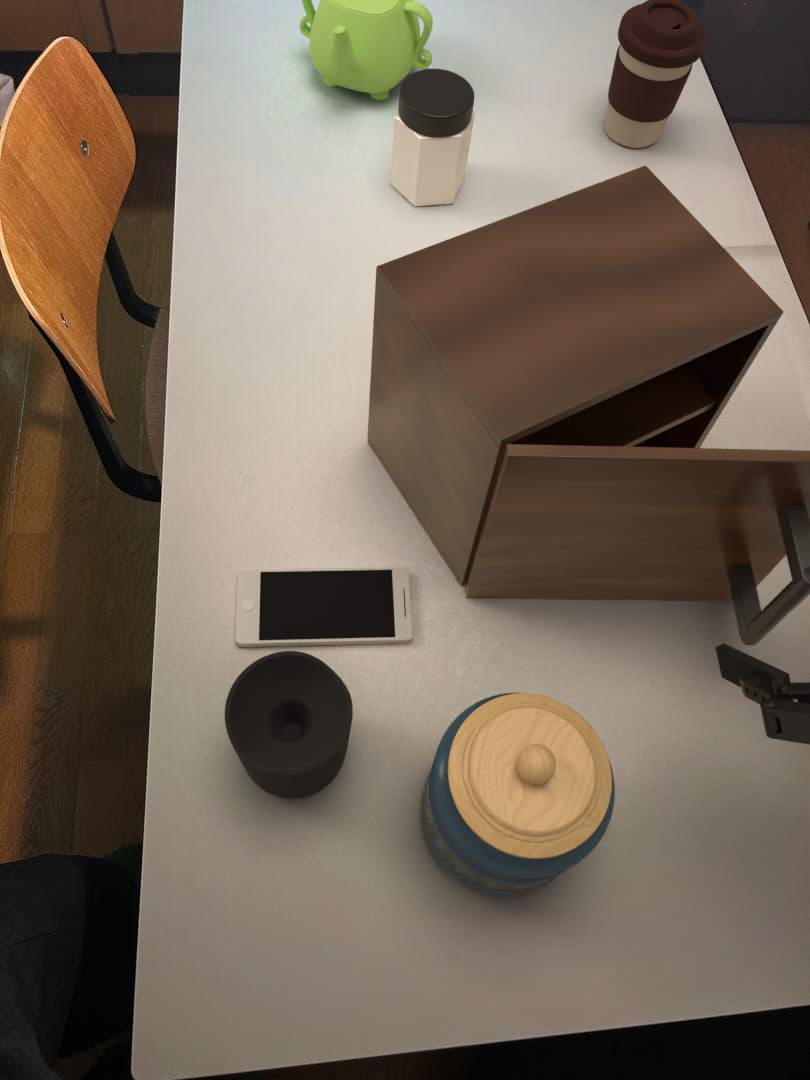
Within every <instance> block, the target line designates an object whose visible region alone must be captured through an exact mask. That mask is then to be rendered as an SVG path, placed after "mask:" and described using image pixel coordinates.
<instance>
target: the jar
mask: <svg viewBox="0 0 810 1080" xmlns="http://www.w3.org/2000/svg"><path fill="white" fill-rule="evenodd" d="M475 97H476V96H475V91H474V88H473V86H472V85H471V83H470V82H469V81H468V80H467V79H466V78H465V77H463V76H462V75H460V74H458V73H456V72H454V71H451V70H448V69H443V68H425V69H419V70H416V71H414V72H412V73H409V75H406V76H405V77H404V78H403V80H402V81H401V84H400V87H399V93H398V105H397V106H398V107H397V111H396V113H395V114H394V118H393V119H394V120H393V135H392V148H391V149H392V151H391V163H390V164H391V167H390V168H391V169H390V181H389V184H390V185H391V186H392V187H393V188H394V190H396V191H397V192H398V193H400V195H402V196H403V198H405V199H406V200H407V201H408V202H409V203H410V204H412V206H414V207H424V206H425V207H426V206H441V205H452V204H453V203H454V201H455V199H456V198H457V196H458V193H459V191H460V189H461V187H462V186H463V184H464V181H465V179H466V173H467V167H468V161H469V155H470V148H471V147H470V146H471V141H472V134H473V126H474V120H475V113H476V112H475V110H474V105H475Z"/></svg>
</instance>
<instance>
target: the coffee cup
mask: <svg viewBox="0 0 810 1080" xmlns="http://www.w3.org/2000/svg"><path fill="white" fill-rule="evenodd" d="M617 39H618V42H619V45H618V47H617V50H616V53H615V59H614V63H613V68H612V72H611V78H610V80H609V81H610V82H609V86H608V91H607V99H608V100H607V105H606V109H605V113H604V119H603V128H604V132H605V134H606V135H607V136H608V137H609V138H610V139H611V140H612V141H613V142H615V143H616V144H618V145H621V146H623V147H627V148H632V149H640V148H641V149H642V148H646V147H649V146H652V145H653V144H655V143H656V142H657V141H658V140H659V138H660V137H661V135H662V132H663V130H664V129H665V126H666V124H667V121H668V119H669V118H670V116H671V114H672V113H673V112H674V110H675V108H676V106H677V103H678V102H679V99H680V97H681V95H682V93H683V90H684V88H685V86H686V83H687V81H688V79H689V76H690V75H691V72H692V69H693V64H695V63H696V62H697V61H698V60H699V59H701V56H702V55H703V53H704V50H705V47H706V44H707V42H708V32H707V29H706V26H705V25H704V23H703V22H702V21H701V19H700V18H699V16H698V14H697V12H696V11H695V10H694V9H693V7H691V6H690V5H688V4H687V3H685V2H683V1H681V0H646V1H644V2H643V3H640V4H636V5H634V6H632V7H630V8H629V9H627V11H625V12H624V14H622V16H621V19H620V22H619V26H618V29H617Z"/></svg>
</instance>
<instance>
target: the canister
mask: <svg viewBox="0 0 810 1080" xmlns="http://www.w3.org/2000/svg"><path fill="white" fill-rule="evenodd" d="M615 786H616V785H615V776H614V771H613V768H612V764H611V761H610V758H609V755H608V753H607V750H606V748H605V746H604V743H603V741H602V740H601V738H600V736H599V735H598V733H597V731H596V730H595V728H593V726H592V725H591V724H590V723H589V722H588V721H587V719H585V718H584V717H583V716H582V715H581V714H580V713H579V712H578V711H576V710H575V709H574V708H573V707H571V706H569V705H568V704H566V703H564V702H562V701H559V700H557V699H555V698H553V697H549V696H547V695H543V694H537V693H529V692H506V693H500V694H499V693H498V694H494V695H492V696H488V697H485V698H483V699H481V700H478V701H476V702H475V703H473V704H471V705H470V706H468V707H467V708H465V709H464V710H463V711H462V712H461V713H459V715H457V717H455V719H454V720H452V722H451V723H450V725H449V726H448V727H447V728H446V730H445V731H444V733H443V735H442V737H441V739H440V741H439V744H438V746H437V747H436V751H435V754H434V758H433V760H432V763H431V767H430V770H429V773H428V774H427V777H426V779H425V782H424V786H423V790H422V793H421V800H420V818H421V825H422V830H423V834H424V837H425V840H426V842H427V845H428V847H429V849H430V851H431V853H432V855H433V857H434V858H435V860H436V861H437V862H438V864H439V865H440V866H441V867H442V869H443V870H444V871H445V872H446V873H447V874H448V875H449V876H451V878H452V879H454V880H456V881H457V882H458V883H460V884H461V885H463V886H464V887H466V888H468V889H469V890H473V891H474V892H477V893H480V894H483V895H487V896H490V897H496V898H514V897H521V896H525V895H529V894H532V893H534V892H537V891H540V890H542V889H543V888H545V887H546V886H548V885H550V884H551V883H553V882H554V881H555V880H557V878H559V877H560V876H561V875H562V874H564V873H566V872H567V871H569V870H570V869H572V868H573V867H574V866H577V865H578V864H579V863H580V862H582V861H583V860H584V859H586V858H587V857H588V856H589V855H590V854H591V853H592V852H593V851H594V850H595V849H596V847H597V846H598V845H599V843H600V842H601V841H602V839H603V837H604V836H605V834H606V832H607V830H608V828H609V825H610V823H611V820H612V817H613V812H614V807H615V797H616V787H615Z"/></svg>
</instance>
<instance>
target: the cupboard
mask: <svg viewBox="0 0 810 1080" xmlns="http://www.w3.org/2000/svg"><path fill="white" fill-rule="evenodd" d="M374 283H375V284H374V303H373V304H374V305H373V324H372V340H371V341H372V346H371V363H370V378H369V379H370V381H369V401H368V417H367V419H368V422H367V444H368V445H369V447H370V449H371V450H372V451H373V453H374V455H375V456H376V458H377V460H378V461H379V462H380V464H381V466H382V467H383V469H384V470H385V472H386V474H387V475H388V476H389V478H390V479H391V481H392V482H393V484H394V485H395V487H396V489H397V490H398V492H399V494H400V495H401V497H402V498H403V499H404V502H406V504H407V506H408V507H409V509H410V511H411V512H412V513H413V515H414V517H415V518H416V520H417V521H418V523H419V524H420V526H421V527H422V529H423V530H424V532H425V534H426V535H427V537H428V538H429V539H430V542H431V543H432V544H433V546H434V547H435V549H436V550H437V552H438V554H439V555H440V557H441V558H442V560H443V561H444V563H445V565H446V566H447V568H448V569H449V570H450V572H451V574H452V575H453V577H454V579H455V580H456V582H457V583H458V585H459V586H460V587H461V588H462V587H464V586H466V585H467V581H468V578H469V574H470V571H471V567H472V564H473V560H474V557H475V553H476V550H477V547H478V543H479V540H480V536H481V533H482V529H483V526H484V522H485V519H486V515H487V512H488V508H489V505H490V501H491V498H492V494H493V491H494V488H495V484H496V481H497V477H498V474H499V470H500V467H501V463H502V460H503V456H504V453H505V449H506V446H507V444H525V445H572V446H619V447H666V448H702V445H703V443H704V442H705V440H706V439H707V437H708V436H709V434H710V432H711V430H713V427H714V426H715V424H716V422H717V420H718V419H719V417H720V416H721V414H722V413H723V411H724V409H725V408H726V406H727V404H728V403H729V402H730V400H731V398H732V396H733V395H734V393H735V392H736V390H737V388H738V387H739V385H740V383H741V382H742V381H743V379H744V377H745V375H746V374H747V372H748V370H749V369H750V367H751V366H752V364H753V363H754V361H755V359H756V358H757V356H758V355H759V353H760V351H761V350H762V348H763V346H764V344H765V343H766V341H767V340H768V338H769V337H770V335H771V333H772V332H773V331H774V328H775V327H776V325H777V324H778V322H779V320H781V317H782V316H783V314H784V310H783V309H782V308H781V307H780V306H779V305H778V304H777V303H776V302H775V301H774V300H773V298H771V297H770V295H768V293H767V292H766V291H765V290H764V289H763V288H762V287H761V285H759V283H757V282H756V280H754V279H753V278H752V276H751V275H750V274H749V273H748V272H747V271H746V270H745V269H744V268H743V267H742V266H741V264H739V262H737V260H736V259H735V258H734V257H733V256H732V255H731V254H730V253H729V252H728V251H727V250H726V249H725V248H724V247H723V245H721V243H720V242H719V241H718V240H717V239H716V238H715V237H714V236H713V235H712V234H711V233H710V232H709V231H708V230H707V228H705V226H704V225H702V223H701V222H700V221H699V220H698V219H697V217H695V216H694V215H693V213H691V212H690V210H689V209H688V208H686V206H685V205H684V204H683V203H682V202H681V201H680V200H679V199H678V198H677V197H676V196H675V195H674V194H673V193H672V192H671V190H670V189H669V188H668V187H667V186H666V185H665V184H664V183H663V182H662V181H661V180H660V179H659V178H658V177H657V175H656V174H655V173H654V172H653V171H652V170H651V169H650V168H649V167H648V166H647V165H645V164H644V165H642V166H640V167H636V168H634V169H631V170H629V171H625V172H624V173H621V174H618V175H616V176H612V177H611V178H608V179H606V180H603V181H600V182H597V183H594V184H592V185H589V186H587V187H584V188H582V189H579V190H576V191H573V192H571V193H568V194H566V195H563V196H560V197H558V198H554V199H552V200H549V201H546V202H544V203H541V204H539V205H536V206H533V207H531V208H527V209H526V210H522V211H520V212H517V213H514V214H512V215H509V216H507V217H504V218H501V219H499V220H496V221H493V222H491V223H488V224H485V225H482V226H480V227H478V228H475V229H472V230H470V231H466V232H464V233H461V234H459V235H456V236H453V237H450V238H448V239H445V240H443V241H440V242H438V243H435V244H432V245H430V246H427V247H424V248H422V249H419V250H416V251H414V252H411V253H408V254H405V255H403V256H401V257H398V258H395V259H392V260H390V261H387V262H384V263H381V264H378V265H376V269H375V282H374Z"/></svg>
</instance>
